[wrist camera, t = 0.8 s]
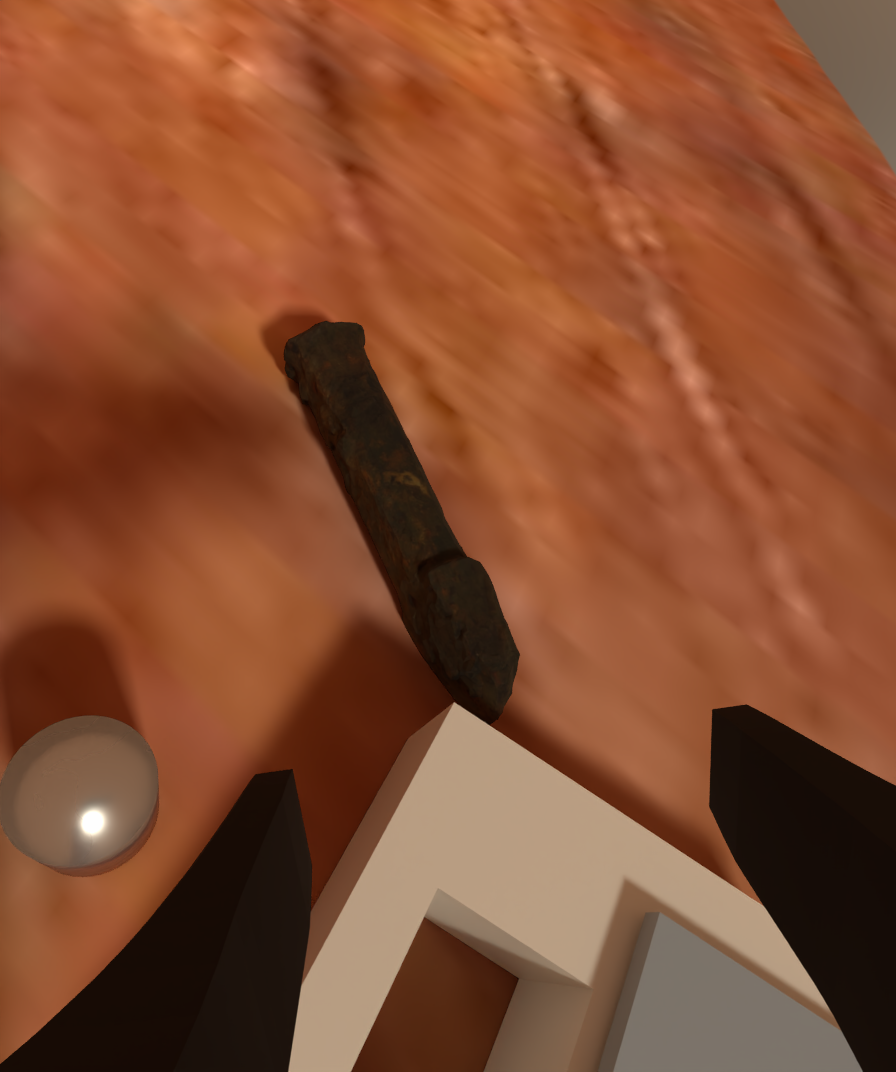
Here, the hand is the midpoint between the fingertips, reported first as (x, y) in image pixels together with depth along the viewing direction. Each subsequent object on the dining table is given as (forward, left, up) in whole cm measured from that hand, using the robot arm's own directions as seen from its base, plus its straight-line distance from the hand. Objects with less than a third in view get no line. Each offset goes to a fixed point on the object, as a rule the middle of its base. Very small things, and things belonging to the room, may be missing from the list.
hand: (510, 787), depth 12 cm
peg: (-3, +8, -17) cm, 18 cm away
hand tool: (+13, +5, -17) cm, 22 cm away
